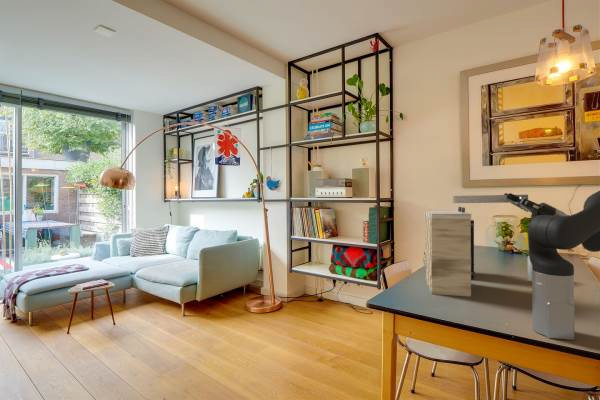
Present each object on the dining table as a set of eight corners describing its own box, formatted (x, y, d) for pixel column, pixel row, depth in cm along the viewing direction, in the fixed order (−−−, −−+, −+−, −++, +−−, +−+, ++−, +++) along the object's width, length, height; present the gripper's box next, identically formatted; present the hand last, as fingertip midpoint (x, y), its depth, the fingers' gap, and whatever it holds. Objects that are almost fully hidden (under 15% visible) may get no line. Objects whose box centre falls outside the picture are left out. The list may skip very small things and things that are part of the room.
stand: (471, 297, 120) (471, 208, 119) (432, 294, 124) (431, 208, 123) (458, 281, 141) (458, 206, 141) (425, 279, 145) (424, 206, 144)
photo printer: (535, 277, 147) (535, 250, 146) (546, 279, 143) (546, 252, 143) (525, 280, 141) (525, 253, 141) (536, 283, 137) (536, 254, 137)
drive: (528, 202, 122) (528, 194, 122) (455, 203, 129) (455, 195, 129) (523, 202, 126) (523, 194, 126) (453, 202, 133) (453, 195, 133)
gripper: (545, 207, 129) (504, 187, 132) (565, 208, 115) (518, 186, 118) (535, 223, 130) (494, 202, 133) (553, 226, 116) (507, 203, 120)
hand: (506, 195), depth 126 cm, fingers closed on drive, 4 cm apart
